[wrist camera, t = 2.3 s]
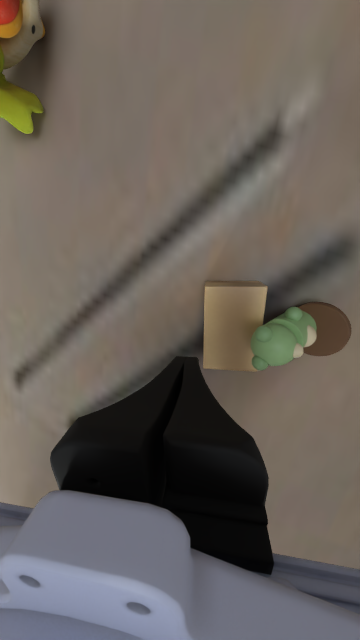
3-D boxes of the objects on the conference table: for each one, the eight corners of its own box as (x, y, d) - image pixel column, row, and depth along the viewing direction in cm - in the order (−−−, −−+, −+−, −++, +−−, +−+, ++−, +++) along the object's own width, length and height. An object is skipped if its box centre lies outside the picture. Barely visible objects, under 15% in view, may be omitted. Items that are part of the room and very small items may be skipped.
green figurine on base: (239, 342, 21) (251, 383, 14) (243, 296, 19) (259, 320, 13) (324, 345, 19) (379, 392, 13) (336, 297, 18) (405, 324, 11)
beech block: (204, 353, 22) (203, 368, 19) (205, 281, 19) (204, 286, 16) (250, 355, 21) (256, 371, 18) (258, 280, 18) (267, 286, 16)
